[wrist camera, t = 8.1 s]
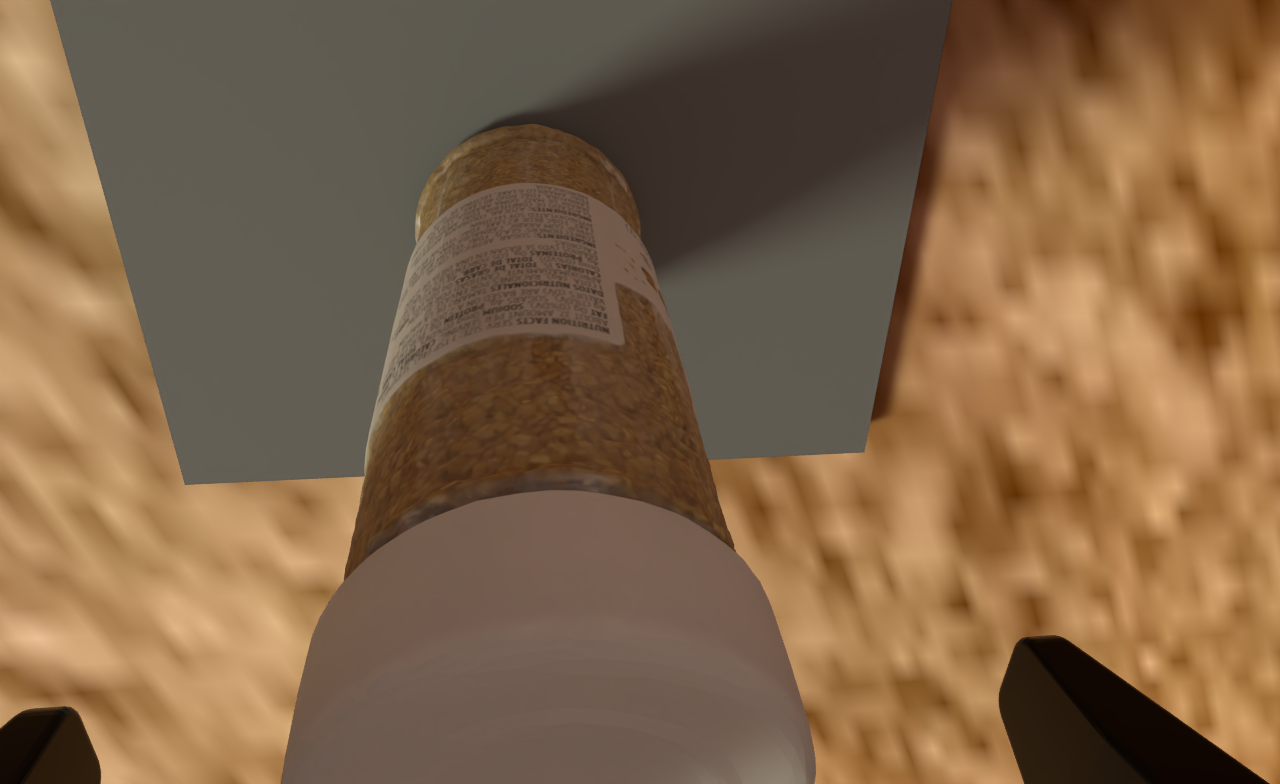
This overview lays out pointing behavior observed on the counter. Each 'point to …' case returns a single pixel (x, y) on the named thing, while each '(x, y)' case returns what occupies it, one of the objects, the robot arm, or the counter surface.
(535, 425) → the sprinkles bottle
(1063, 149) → the counter surface
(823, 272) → the gray tray
